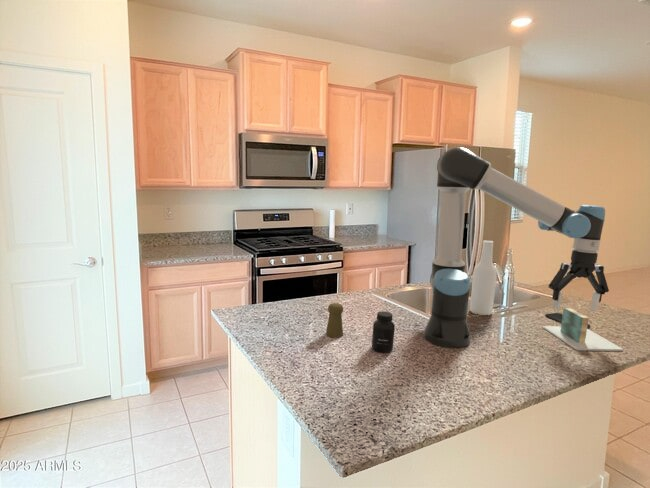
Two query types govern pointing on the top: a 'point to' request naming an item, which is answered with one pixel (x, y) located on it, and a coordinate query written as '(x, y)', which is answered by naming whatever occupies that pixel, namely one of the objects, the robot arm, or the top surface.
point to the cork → (335, 321)
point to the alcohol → (484, 282)
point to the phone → (557, 317)
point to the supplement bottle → (383, 333)
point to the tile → (574, 325)
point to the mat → (591, 341)
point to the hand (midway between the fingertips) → (574, 310)
